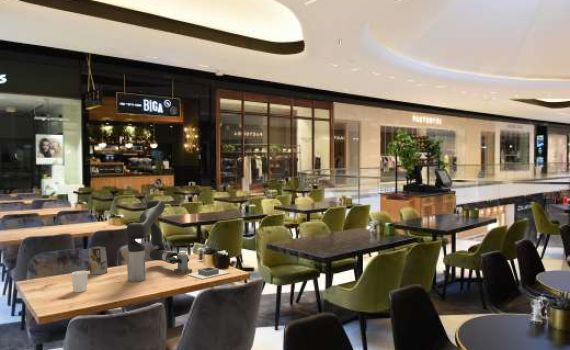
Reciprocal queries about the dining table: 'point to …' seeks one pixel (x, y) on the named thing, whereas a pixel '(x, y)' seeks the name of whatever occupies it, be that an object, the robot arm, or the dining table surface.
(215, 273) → the port
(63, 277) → the dining table surface
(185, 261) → the grey bottle
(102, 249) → the coffee box
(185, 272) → the holster
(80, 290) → the white cup
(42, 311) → the dining table surface
